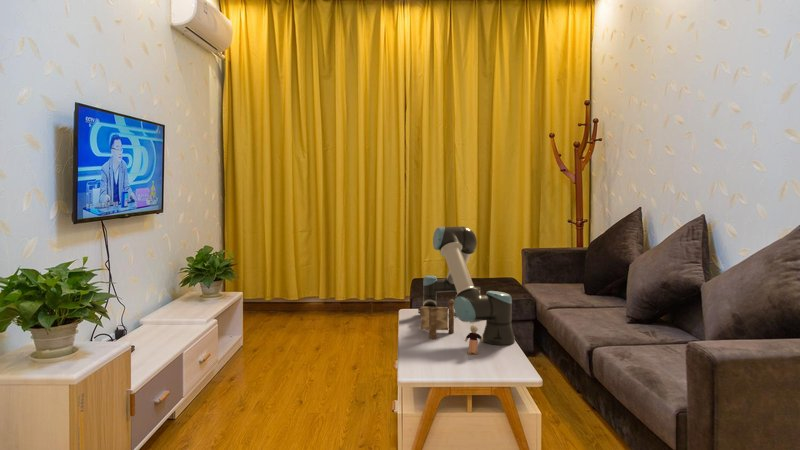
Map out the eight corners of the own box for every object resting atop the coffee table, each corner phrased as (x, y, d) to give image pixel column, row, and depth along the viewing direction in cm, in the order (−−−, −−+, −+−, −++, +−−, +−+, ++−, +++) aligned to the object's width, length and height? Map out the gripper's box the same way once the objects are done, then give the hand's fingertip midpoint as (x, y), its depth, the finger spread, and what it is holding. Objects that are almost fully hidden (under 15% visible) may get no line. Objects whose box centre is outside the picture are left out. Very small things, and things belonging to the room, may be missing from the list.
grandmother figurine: (465, 354, 225) (465, 326, 224) (464, 352, 229) (464, 323, 228) (483, 354, 225) (483, 326, 224) (481, 352, 229) (482, 323, 228)
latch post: (437, 338, 250) (437, 307, 249) (432, 339, 248) (432, 308, 247) (433, 337, 252) (433, 306, 251) (428, 338, 250) (428, 307, 249)
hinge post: (455, 333, 259) (455, 299, 258) (450, 334, 258) (450, 300, 256) (451, 331, 262) (452, 298, 260) (446, 332, 260) (447, 299, 259)
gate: (448, 329, 261) (448, 307, 260) (447, 330, 259) (448, 308, 258) (421, 328, 262) (421, 306, 262) (420, 329, 261) (420, 307, 260)
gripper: (442, 314, 285) (444, 326, 261) (417, 314, 286) (416, 325, 262) (442, 301, 284) (444, 311, 261) (417, 300, 285) (416, 311, 261)
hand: (430, 318), depth 261 cm, fingers closed
